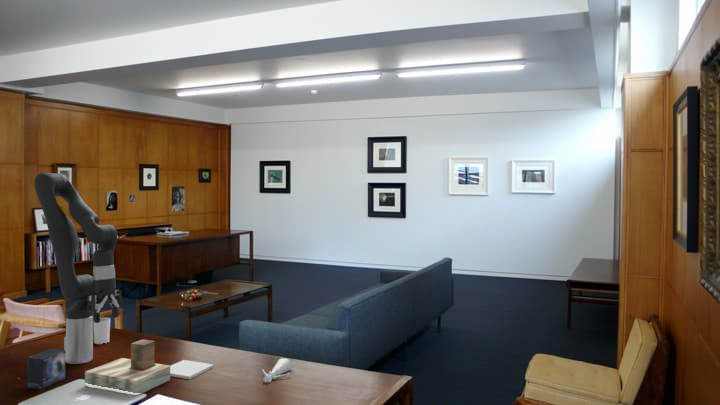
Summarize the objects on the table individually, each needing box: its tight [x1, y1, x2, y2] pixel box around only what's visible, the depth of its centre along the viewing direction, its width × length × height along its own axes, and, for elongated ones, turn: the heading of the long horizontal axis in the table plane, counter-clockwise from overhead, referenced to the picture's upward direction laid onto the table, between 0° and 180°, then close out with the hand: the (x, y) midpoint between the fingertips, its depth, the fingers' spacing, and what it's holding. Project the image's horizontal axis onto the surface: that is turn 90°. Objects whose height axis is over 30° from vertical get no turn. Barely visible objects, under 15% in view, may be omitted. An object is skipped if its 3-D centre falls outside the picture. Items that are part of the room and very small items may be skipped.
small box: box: [26, 348, 66, 390], centre depth 179 cm, size 11×6×10 cm, turn 168°
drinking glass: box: [93, 317, 111, 345], centre depth 227 cm, size 7×7×10 cm
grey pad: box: [169, 359, 215, 380], centre depth 194 cm, size 14×14×1 cm
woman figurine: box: [262, 358, 293, 384], centre depth 191 cm, size 12×4×18 cm
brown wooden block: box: [130, 339, 156, 371], centre depth 182 cm, size 5×5×12 cm
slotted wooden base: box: [84, 357, 171, 394], centre depth 180 cm, size 22×16×5 cm
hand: (106, 320), depth 198 cm, fingers open, 8 cm apart
